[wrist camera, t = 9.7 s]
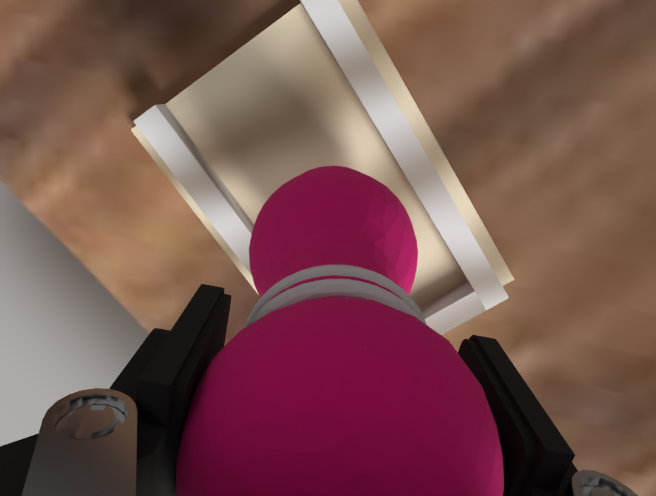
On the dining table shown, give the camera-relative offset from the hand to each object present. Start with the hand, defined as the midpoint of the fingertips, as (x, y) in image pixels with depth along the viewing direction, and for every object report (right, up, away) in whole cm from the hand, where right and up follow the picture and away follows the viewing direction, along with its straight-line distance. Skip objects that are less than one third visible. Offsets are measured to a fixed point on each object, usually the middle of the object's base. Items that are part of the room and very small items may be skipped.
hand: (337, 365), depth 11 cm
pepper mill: (0, +4, +13) cm, 13 cm away
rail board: (0, +6, +16) cm, 17 cm away
